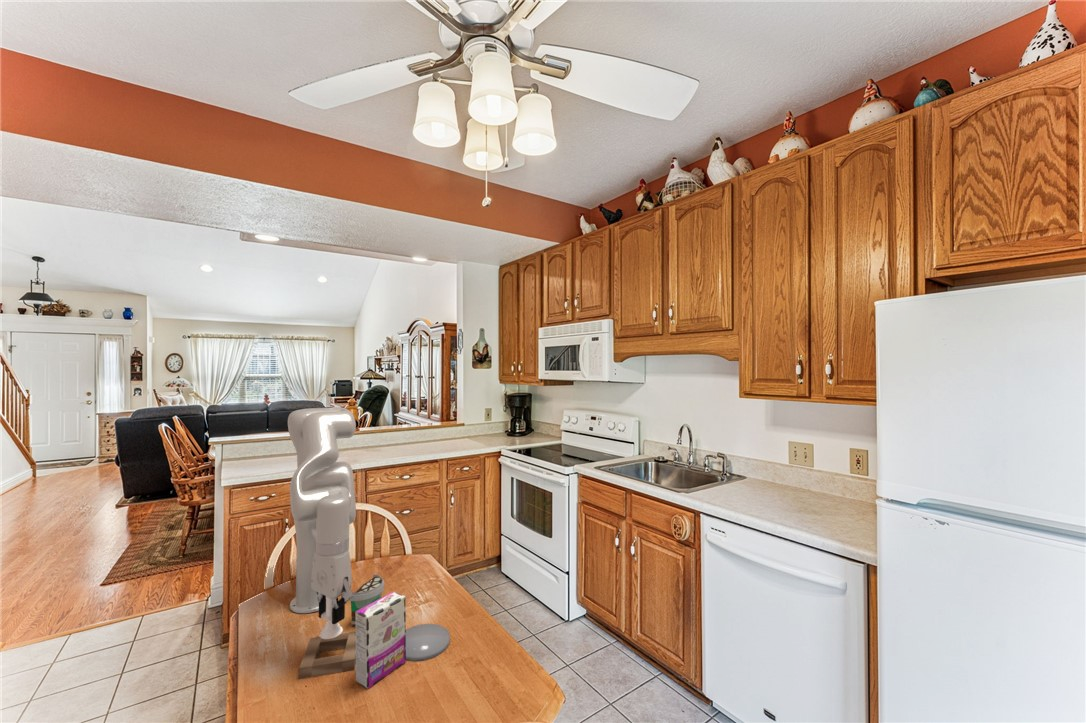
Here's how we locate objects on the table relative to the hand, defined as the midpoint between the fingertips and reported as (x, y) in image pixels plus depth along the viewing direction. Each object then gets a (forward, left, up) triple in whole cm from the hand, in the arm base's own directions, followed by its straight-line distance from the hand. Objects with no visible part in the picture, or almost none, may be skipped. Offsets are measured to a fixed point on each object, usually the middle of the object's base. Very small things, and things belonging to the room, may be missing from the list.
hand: (331, 617), depth 112 cm
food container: (-15, +8, -10) cm, 20 cm away
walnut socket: (+1, 0, -10) cm, 10 cm away
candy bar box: (+9, +12, -10) cm, 18 cm away
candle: (0, 0, -4) cm, 4 cm away
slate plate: (+1, +22, -10) cm, 24 cm away
